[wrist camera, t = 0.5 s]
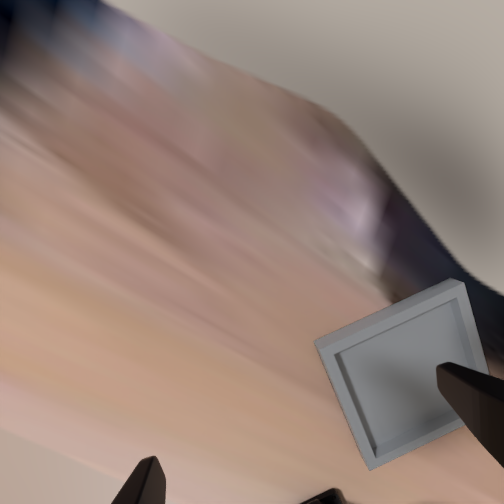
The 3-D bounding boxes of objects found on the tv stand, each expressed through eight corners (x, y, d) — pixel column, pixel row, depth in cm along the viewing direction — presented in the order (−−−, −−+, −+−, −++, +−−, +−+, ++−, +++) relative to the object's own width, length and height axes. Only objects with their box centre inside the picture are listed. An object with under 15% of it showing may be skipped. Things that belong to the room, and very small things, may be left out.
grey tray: (484, 398, 28) (498, 408, 27) (361, 456, 28) (369, 471, 26) (450, 278, 25) (464, 282, 24) (313, 341, 25) (319, 349, 23)
